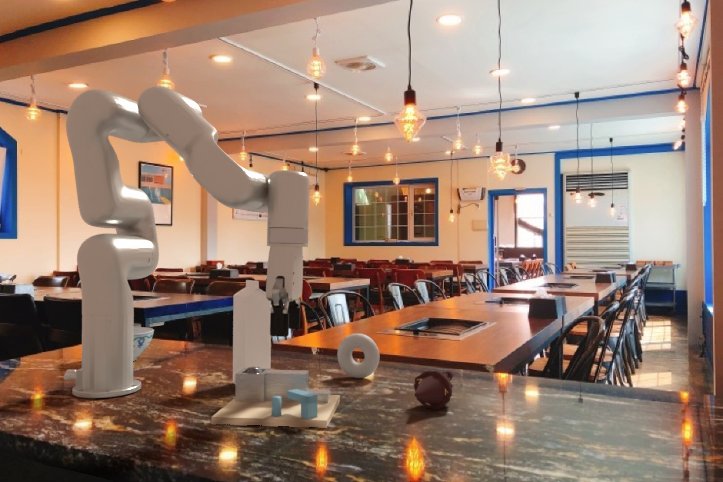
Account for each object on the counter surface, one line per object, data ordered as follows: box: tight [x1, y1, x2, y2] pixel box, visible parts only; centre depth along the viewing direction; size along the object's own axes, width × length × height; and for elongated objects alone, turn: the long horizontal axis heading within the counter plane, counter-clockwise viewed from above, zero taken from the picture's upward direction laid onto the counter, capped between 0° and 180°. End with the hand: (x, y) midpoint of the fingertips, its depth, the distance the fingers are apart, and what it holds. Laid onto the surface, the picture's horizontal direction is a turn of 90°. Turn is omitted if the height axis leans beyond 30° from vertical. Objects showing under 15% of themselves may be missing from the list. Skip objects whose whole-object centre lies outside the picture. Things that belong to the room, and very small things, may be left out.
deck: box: [210, 394, 341, 429], centre depth 99 cm, size 19×16×1 cm
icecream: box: [413, 370, 454, 410], centre depth 102 cm, size 7×7×15 cm
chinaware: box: [133, 326, 155, 362], centre depth 145 cm, size 15×15×8 cm
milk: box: [232, 279, 272, 385], centre depth 120 cm, size 6×6×22 cm
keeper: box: [271, 389, 318, 419], centre depth 93 cm, size 6×5×5 cm
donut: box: [336, 333, 381, 379], centre depth 126 cm, size 10×4×10 cm, turn 68°
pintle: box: [247, 367, 260, 373], centre depth 104 cm, size 2×2×6 cm
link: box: [234, 368, 331, 403], centre depth 103 cm, size 17×5×5 cm, turn 85°
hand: (285, 332), depth 103 cm, fingers open, 9 cm apart
